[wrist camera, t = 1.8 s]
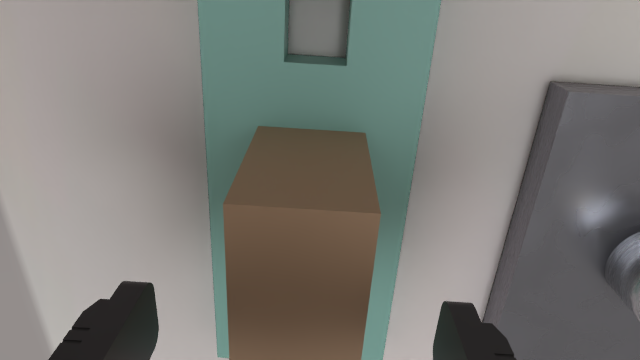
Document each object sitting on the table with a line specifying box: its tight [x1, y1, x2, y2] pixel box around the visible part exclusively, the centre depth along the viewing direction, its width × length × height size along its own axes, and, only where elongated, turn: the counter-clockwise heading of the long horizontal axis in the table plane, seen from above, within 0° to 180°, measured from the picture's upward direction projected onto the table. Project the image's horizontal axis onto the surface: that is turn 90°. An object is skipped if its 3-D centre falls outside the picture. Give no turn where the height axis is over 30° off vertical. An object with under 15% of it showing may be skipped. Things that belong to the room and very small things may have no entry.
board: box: [198, 0, 441, 360], centre depth 16 cm, size 18×8×8 cm, turn 177°
